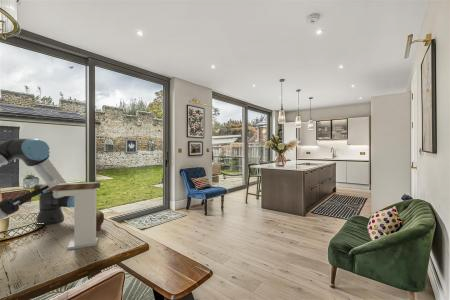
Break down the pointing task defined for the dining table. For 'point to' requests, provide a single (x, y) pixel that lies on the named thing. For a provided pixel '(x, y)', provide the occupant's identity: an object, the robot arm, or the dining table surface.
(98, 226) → the shell
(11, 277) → the dining table surface
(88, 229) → the white upright panel
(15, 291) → the dining table surface
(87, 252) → the dining table surface
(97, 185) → the lever
